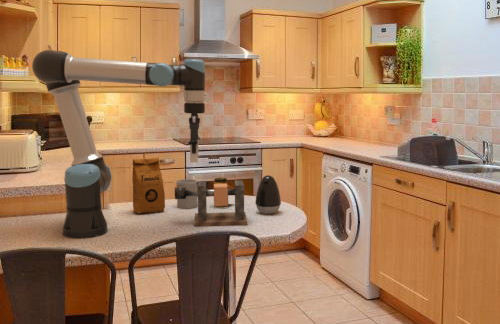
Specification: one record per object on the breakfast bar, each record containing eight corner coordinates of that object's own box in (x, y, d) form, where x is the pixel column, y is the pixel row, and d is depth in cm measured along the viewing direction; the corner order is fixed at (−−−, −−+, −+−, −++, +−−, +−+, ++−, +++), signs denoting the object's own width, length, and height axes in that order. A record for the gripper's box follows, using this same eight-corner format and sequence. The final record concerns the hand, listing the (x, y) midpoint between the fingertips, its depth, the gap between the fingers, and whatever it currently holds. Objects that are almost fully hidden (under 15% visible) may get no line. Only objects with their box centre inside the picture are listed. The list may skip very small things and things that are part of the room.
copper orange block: (209, 207, 228) (209, 179, 227) (220, 203, 236) (219, 175, 234) (224, 208, 225) (224, 180, 223) (234, 204, 232) (234, 177, 231)
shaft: (174, 200, 201) (174, 188, 200) (175, 197, 205) (175, 186, 205) (239, 199, 203) (239, 187, 202) (239, 196, 207) (238, 185, 206)
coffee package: (166, 212, 219) (165, 158, 216) (135, 215, 215) (133, 160, 211) (161, 207, 228) (159, 155, 225) (131, 210, 224) (129, 157, 221)
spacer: (214, 205, 201) (213, 187, 200) (214, 201, 208) (213, 183, 207) (227, 205, 201) (227, 187, 200) (227, 201, 208) (227, 183, 207)
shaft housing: (194, 226, 198) (193, 187, 196) (195, 216, 212) (194, 180, 210) (247, 225, 199) (247, 186, 197) (245, 215, 213) (244, 179, 211)
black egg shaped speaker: (252, 215, 214) (252, 177, 212) (258, 209, 224) (258, 172, 222) (278, 216, 212) (278, 178, 209) (282, 210, 222) (283, 173, 219)
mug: (198, 208, 226) (198, 182, 225) (178, 209, 225) (177, 183, 223) (195, 202, 238) (195, 177, 236) (176, 203, 236) (175, 178, 235)
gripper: (204, 103, 187) (204, 164, 190) (204, 101, 212) (204, 155, 215) (182, 103, 187) (182, 164, 190) (185, 100, 211) (185, 154, 214)
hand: (194, 159), depth 202 cm, fingers open, 13 cm apart
